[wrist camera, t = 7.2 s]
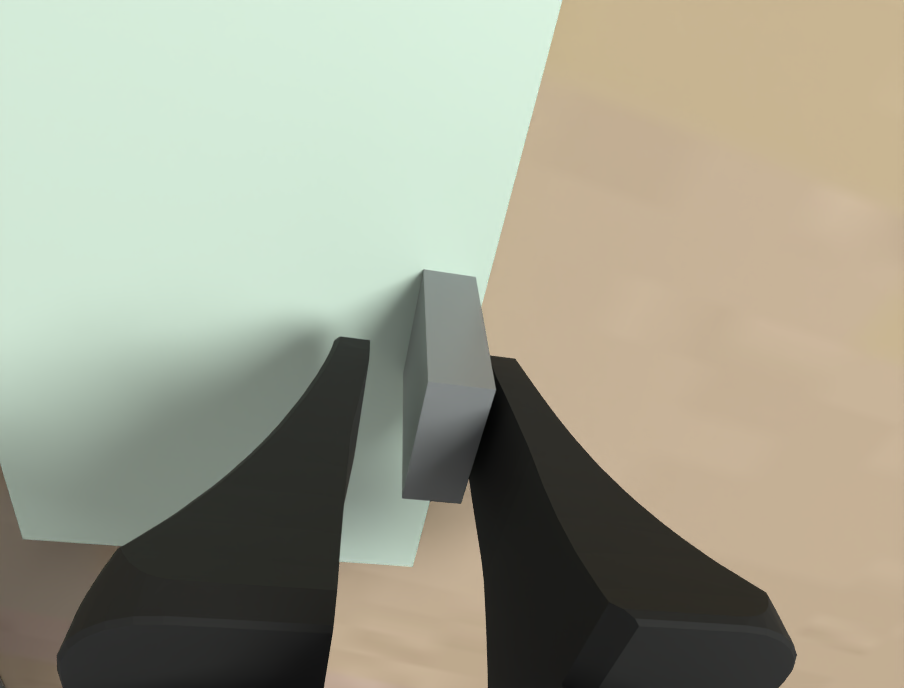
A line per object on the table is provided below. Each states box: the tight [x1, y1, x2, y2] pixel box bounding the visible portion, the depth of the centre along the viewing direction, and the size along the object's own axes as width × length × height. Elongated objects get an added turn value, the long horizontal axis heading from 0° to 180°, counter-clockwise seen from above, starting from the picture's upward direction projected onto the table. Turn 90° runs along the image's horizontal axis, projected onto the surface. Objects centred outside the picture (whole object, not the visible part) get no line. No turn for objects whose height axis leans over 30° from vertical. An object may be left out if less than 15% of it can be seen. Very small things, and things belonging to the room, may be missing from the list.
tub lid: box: [0, 0, 562, 567], centre depth 13 cm, size 19×12×5 cm, turn 168°
